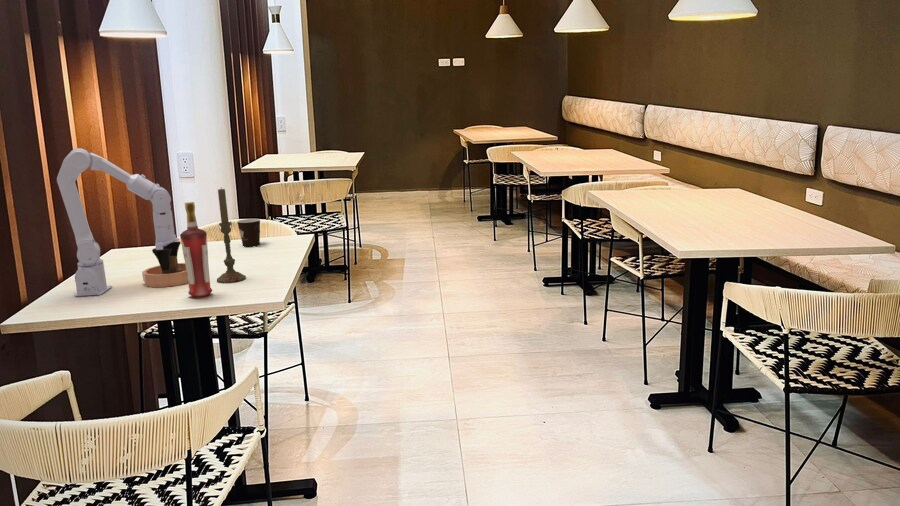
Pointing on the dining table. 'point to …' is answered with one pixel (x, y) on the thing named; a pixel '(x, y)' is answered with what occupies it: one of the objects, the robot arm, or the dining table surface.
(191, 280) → the liquor
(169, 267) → the brown rectangular block
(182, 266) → the faceted copper bowl
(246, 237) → the coffee mug
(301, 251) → the dining table surface
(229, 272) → the candlestick holder
